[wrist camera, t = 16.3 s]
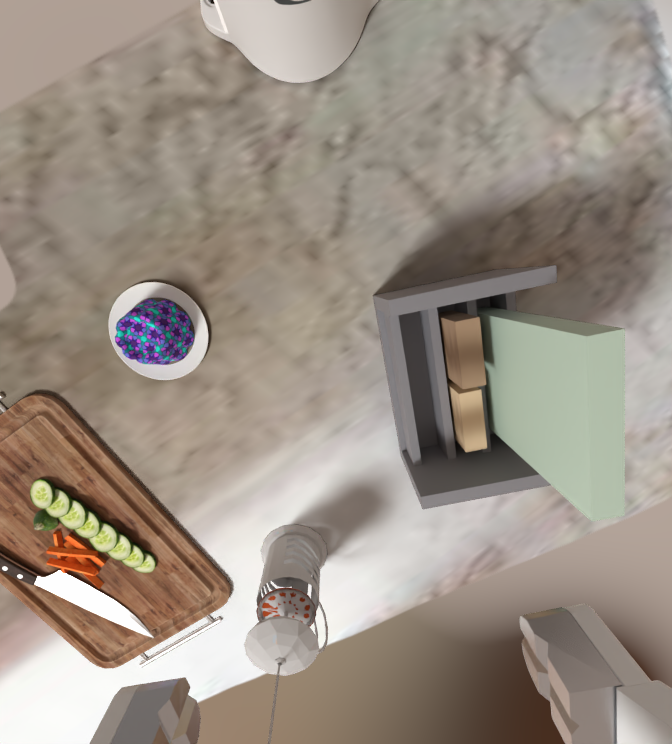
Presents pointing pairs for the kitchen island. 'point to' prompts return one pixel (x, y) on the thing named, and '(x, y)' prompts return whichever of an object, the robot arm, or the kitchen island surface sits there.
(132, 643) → the chopping board
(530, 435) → the tall panel
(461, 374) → the offcut walnut
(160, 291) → the pudding
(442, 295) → the rack
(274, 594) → the french press
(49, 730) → the kitchen island surface
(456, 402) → the offcut oak
